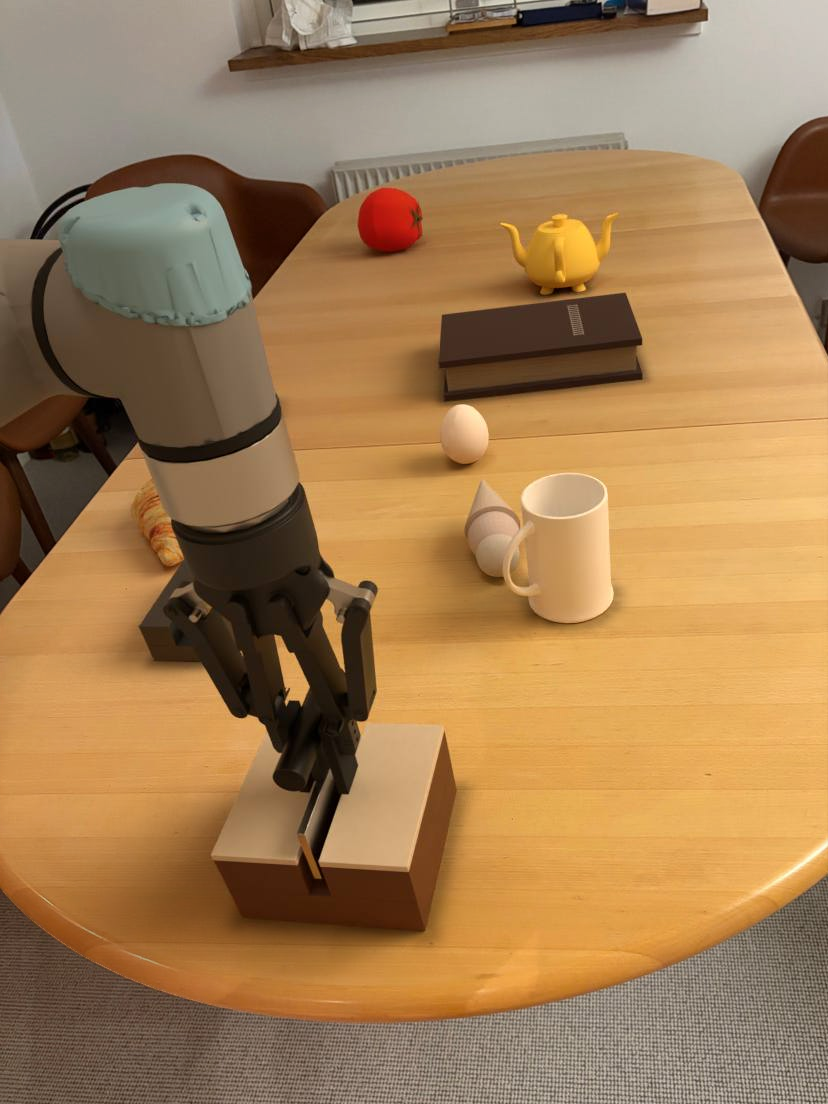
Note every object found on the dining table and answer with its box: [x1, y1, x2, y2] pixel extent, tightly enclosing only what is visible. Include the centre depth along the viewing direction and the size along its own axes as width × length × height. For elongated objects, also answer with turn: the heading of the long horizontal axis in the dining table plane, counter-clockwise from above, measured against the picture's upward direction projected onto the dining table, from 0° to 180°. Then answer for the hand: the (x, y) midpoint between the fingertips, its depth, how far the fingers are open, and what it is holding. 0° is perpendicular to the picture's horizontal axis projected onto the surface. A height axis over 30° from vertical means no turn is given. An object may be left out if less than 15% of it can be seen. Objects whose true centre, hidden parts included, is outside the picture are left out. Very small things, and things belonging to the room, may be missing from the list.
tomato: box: [357, 187, 423, 253], centre depth 183 cm, size 13×13×13 cm
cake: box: [210, 722, 458, 932], centre depth 68 cm, size 14×13×8 cm
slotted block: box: [138, 559, 236, 662], centre depth 95 cm, size 8×13×4 cm, turn 171°
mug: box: [503, 472, 615, 624], centre depth 87 cm, size 12×8×12 cm
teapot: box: [500, 211, 620, 295], centre depth 155 cm, size 20×15×12 cm
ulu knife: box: [273, 667, 361, 879], centre depth 64 cm, size 2×12×10 cm, turn 171°
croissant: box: [130, 478, 184, 567], centre depth 110 cm, size 21×10×8 cm, turn 10°
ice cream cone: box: [463, 478, 521, 578], centre depth 98 cm, size 6×6×15 cm
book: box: [438, 292, 643, 402], centre depth 134 cm, size 28×20×6 cm
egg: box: [439, 403, 490, 465], centre depth 113 cm, size 6×6×8 cm
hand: (329, 778), depth 65 cm, fingers closed on ulu knife, 2 cm apart
